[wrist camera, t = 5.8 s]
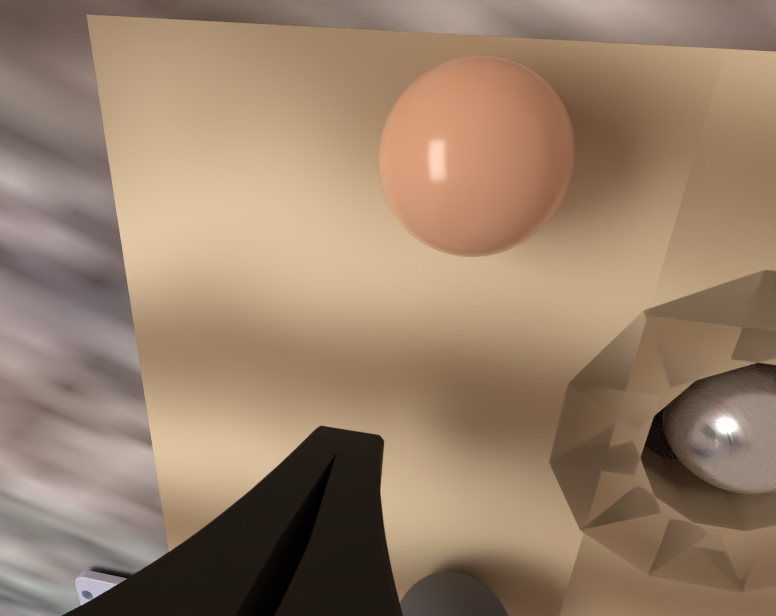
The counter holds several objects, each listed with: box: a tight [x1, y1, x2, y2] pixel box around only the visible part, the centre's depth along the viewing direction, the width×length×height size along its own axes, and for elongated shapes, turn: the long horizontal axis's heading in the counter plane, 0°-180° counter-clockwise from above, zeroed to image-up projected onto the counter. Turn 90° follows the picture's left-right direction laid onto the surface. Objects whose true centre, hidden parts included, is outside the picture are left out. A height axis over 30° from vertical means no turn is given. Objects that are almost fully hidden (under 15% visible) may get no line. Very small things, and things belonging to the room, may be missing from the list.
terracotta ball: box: [378, 55, 575, 257], centre depth 8 cm, size 3×3×3 cm
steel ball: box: [662, 363, 776, 494], centre depth 12 cm, size 3×3×3 cm
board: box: [87, 15, 776, 616], centre depth 13 cm, size 16×20×2 cm
